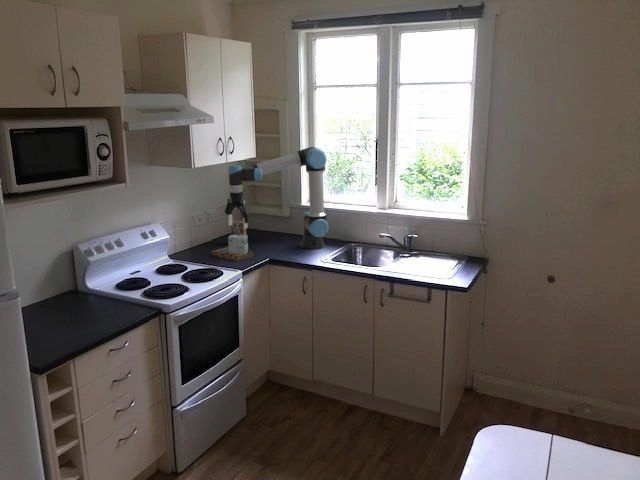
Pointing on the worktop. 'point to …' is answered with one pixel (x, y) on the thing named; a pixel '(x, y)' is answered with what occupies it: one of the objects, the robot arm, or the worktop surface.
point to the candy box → (238, 228)
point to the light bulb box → (238, 244)
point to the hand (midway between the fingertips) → (237, 226)
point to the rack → (234, 257)
